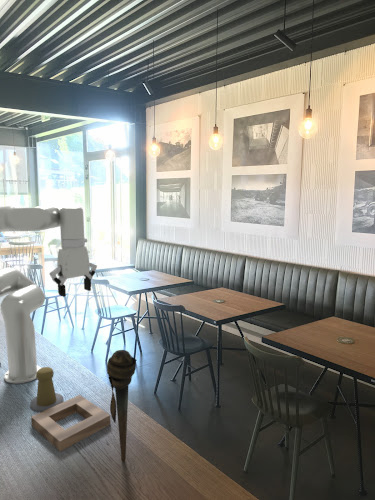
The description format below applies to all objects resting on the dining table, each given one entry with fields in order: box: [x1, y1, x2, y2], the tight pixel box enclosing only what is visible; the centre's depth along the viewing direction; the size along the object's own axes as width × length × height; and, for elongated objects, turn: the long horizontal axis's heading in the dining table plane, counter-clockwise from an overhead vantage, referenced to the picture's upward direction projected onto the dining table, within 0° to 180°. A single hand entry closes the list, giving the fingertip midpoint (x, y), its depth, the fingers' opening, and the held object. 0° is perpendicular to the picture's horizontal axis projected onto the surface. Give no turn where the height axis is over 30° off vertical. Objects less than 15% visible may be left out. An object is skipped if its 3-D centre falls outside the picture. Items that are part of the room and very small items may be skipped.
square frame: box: [30, 394, 111, 452], centre depth 113 cm, size 16×16×3 cm
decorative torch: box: [106, 349, 137, 463], centre depth 96 cm, size 7×7×30 cm
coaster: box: [29, 392, 64, 413], centre depth 125 cm, size 10×10×1 cm
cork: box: [36, 366, 56, 406], centre depth 124 cm, size 6×6×11 cm
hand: (75, 292), depth 133 cm, fingers open, 9 cm apart
